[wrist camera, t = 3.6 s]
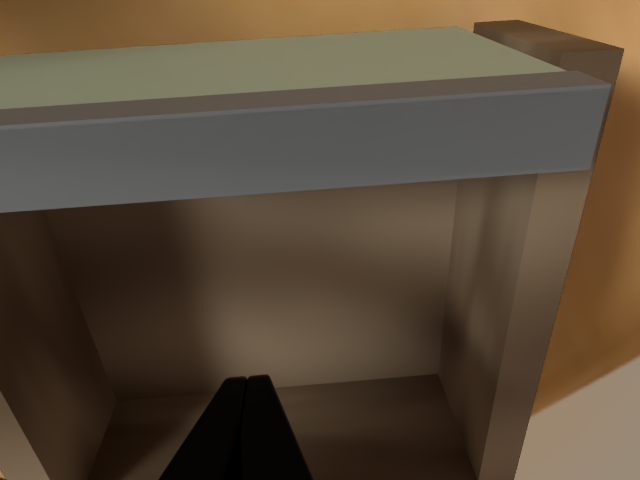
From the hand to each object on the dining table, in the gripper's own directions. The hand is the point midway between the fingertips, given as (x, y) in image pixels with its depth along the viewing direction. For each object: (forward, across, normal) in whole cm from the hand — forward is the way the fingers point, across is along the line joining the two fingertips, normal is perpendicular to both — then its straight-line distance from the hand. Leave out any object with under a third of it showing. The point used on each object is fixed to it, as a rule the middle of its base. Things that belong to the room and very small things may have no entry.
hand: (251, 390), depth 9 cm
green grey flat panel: (+5, 0, -6) cm, 8 cm away
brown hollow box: (+6, 0, 0) cm, 6 cm away
